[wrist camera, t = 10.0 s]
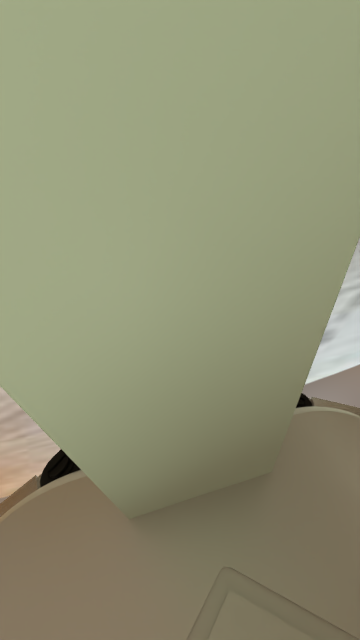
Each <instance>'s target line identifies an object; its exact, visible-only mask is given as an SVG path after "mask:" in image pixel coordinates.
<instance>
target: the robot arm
mask: <svg viewBox="0 0 360 640" xmlns="http://www.w3.org/2000/svg"><path fill="white" fill-rule="evenodd" d="M0 640H360V408H357V407H353V406H349V405H345V404H340V403H336V402H331V401H328V400H323V399H319V398H315V397H311V399H309V398H308V397H306V396H305V395H304V394H302V393H301V395H300V398H299V401H298V403H297V406H296V409H295V411H294V414H293V417H292V419H291V422H290V425H289V427H288V430H287V433H286V435H285V438H284V441H283V443H282V446H281V449H280V451H279V454H278V457H277V459H276V462H275V465H274V467H273V470H272V472H270V473H267V474H264V475H261V476H258V477H255V478H252V479H249V480H246V481H243V482H240V483H237V484H234V485H231V486H228V487H225V488H222V489H218V490H215V491H212V492H209V493H206V494H203V495H200V496H197V497H194V498H191V499H188V500H185V501H182V502H179V503H176V504H173V505H170V506H167V507H164V508H161V509H158V510H155V511H152V512H149V513H146V514H143V515H140V516H137V517H134V518H131V519H128V518H127V517H126V516H125V515H124V514H123V513H122V511H121V510H120V509H119V508H118V507H117V506H116V505H115V504H114V503H113V502H112V501H111V500H110V499H109V498H108V497H107V496H106V495H105V494H104V493H103V492H102V491H101V490H100V489H99V488H98V487H97V486H96V485H95V484H94V482H93V481H92V480H91V479H90V478H89V477H88V476H87V475H86V474H85V473H84V472H83V471H82V470H81V469H80V468H79V467H78V466H77V465H76V464H75V463H74V462H73V461H72V460H71V459H70V458H69V457H68V456H67V455H66V453H65V452H64V451H63V450H62V449H61V450H60V451H59V452H58V453H57V454H56V455H55V456H54V457H53V458H52V459H51V460H50V461H49V462H48V464H47V465H46V467H45V468H44V470H43V472H42V474H41V475H40V476H38V477H37V476H36V475H35V476H34V477H33V478H32V479H31V480H29V481H28V482H27V483H26V484H24V485H23V486H22V487H21V488H19V489H18V490H17V491H16V492H14V493H13V494H12V495H11V496H9V497H8V498H7V499H6V500H4V501H3V502H2V503H1V504H0Z"/></svg>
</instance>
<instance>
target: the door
mask: <svg viewBox="0 0 360 640" xmlns="http://www.w3.org/2000/svg"><path fill="white" fill-rule="evenodd" d="M359 238H360V0H0V386H1V387H2V388H3V389H4V390H5V391H6V392H7V393H8V394H9V396H10V397H11V398H12V399H13V400H14V401H15V402H16V403H17V404H18V405H19V406H20V407H21V408H22V409H23V410H24V411H25V412H26V413H27V414H28V415H29V416H30V417H31V418H32V419H33V420H34V421H35V422H36V423H37V425H38V426H39V427H40V428H41V429H42V430H43V431H44V432H45V433H46V434H47V435H48V436H49V437H50V438H51V439H52V440H53V441H54V442H55V443H56V444H57V445H58V446H59V447H60V448H61V449H62V450H63V451H64V452H65V453H66V455H67V456H68V457H69V458H70V459H71V460H72V461H73V462H74V463H75V464H76V465H77V466H78V467H79V468H80V469H81V470H82V471H83V472H84V473H85V474H86V475H87V476H88V477H89V478H90V479H91V480H92V481H93V482H94V484H95V485H96V486H97V487H98V488H99V489H100V490H101V491H102V492H103V493H104V494H105V495H106V496H107V497H108V498H109V499H110V500H111V501H112V502H113V503H114V504H115V505H116V506H117V507H118V508H119V509H120V510H121V511H122V513H123V514H124V515H125V516H126V517H127V518H128V519H131V518H134V517H137V516H140V515H143V514H146V513H149V512H152V511H155V510H158V509H161V508H164V507H167V506H170V505H173V504H176V503H179V502H182V501H185V500H188V499H191V498H194V497H197V496H200V495H203V494H206V493H209V492H212V491H215V490H218V489H222V488H225V487H228V486H231V485H234V484H237V483H240V482H243V481H246V480H249V479H252V478H255V477H258V476H261V475H264V474H267V473H270V472H272V470H273V467H274V465H275V462H276V459H277V457H278V454H279V451H280V449H281V446H282V443H283V441H284V438H285V435H286V433H287V430H288V427H289V425H290V422H291V419H292V417H293V414H294V411H295V409H296V406H297V403H298V401H299V398H300V395H301V393H302V390H303V387H304V385H305V382H306V379H307V377H308V374H309V371H310V369H311V366H312V363H313V361H314V358H315V355H316V353H317V350H318V347H319V344H320V342H321V339H322V336H323V334H324V331H325V328H326V326H327V323H328V320H329V318H330V315H331V312H332V310H333V307H334V304H335V302H336V299H337V296H338V294H339V291H340V288H341V286H342V283H343V280H344V278H345V275H346V272H347V270H348V267H349V264H350V262H351V259H352V256H353V254H354V251H355V248H356V246H357V243H358V240H359Z"/></svg>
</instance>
